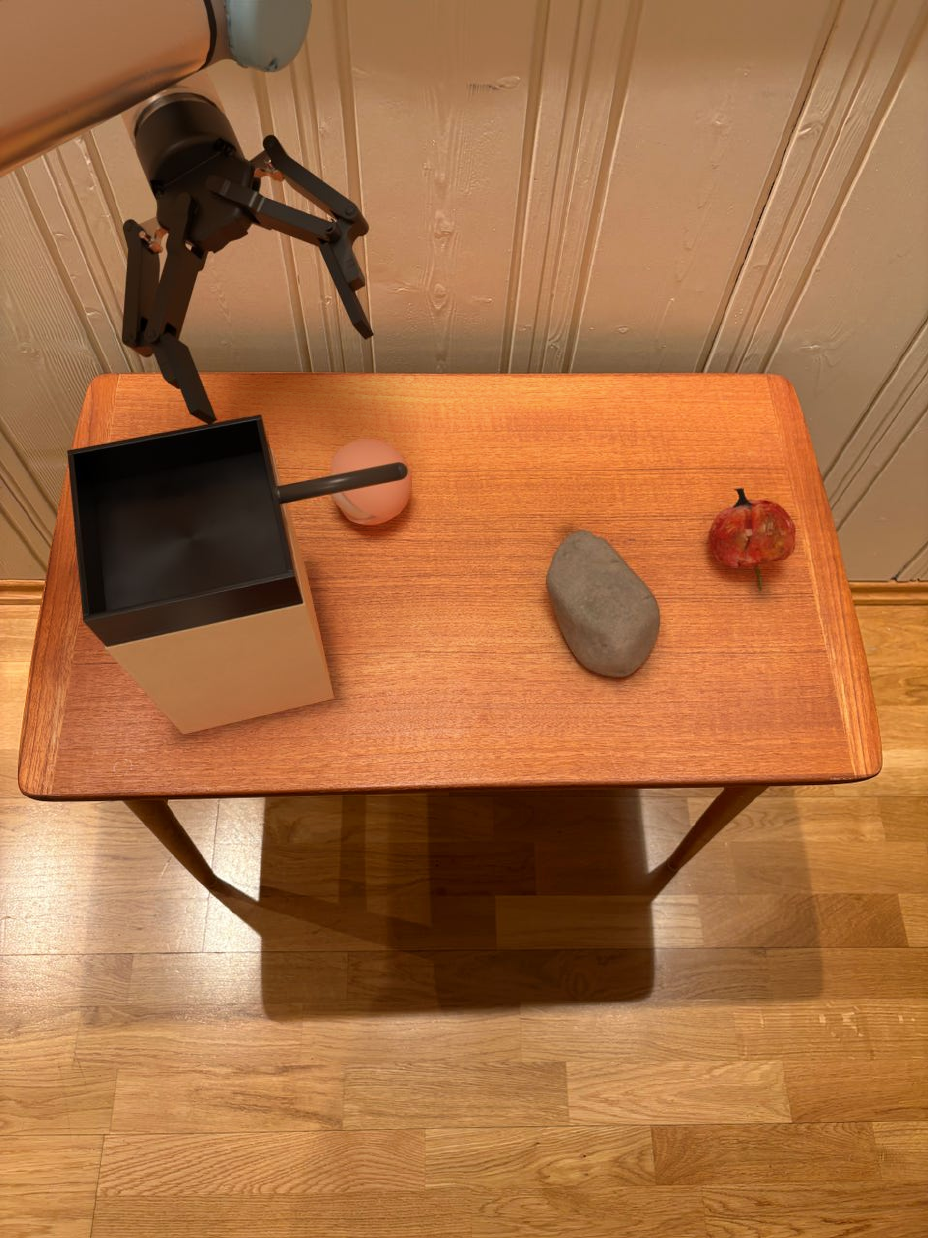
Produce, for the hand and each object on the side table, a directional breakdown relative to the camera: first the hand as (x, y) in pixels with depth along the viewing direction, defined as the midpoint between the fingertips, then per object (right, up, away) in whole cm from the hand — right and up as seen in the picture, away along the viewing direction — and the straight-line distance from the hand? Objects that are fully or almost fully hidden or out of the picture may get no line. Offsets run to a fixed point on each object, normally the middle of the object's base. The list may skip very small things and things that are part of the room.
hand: (282, 375), depth 61 cm
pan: (-1, -12, -3) cm, 12 cm away
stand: (-6, -20, +13) cm, 25 cm away
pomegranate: (+40, -12, +20) cm, 46 cm away
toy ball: (+4, -7, +20) cm, 22 cm away
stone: (+25, -17, +17) cm, 35 cm away
